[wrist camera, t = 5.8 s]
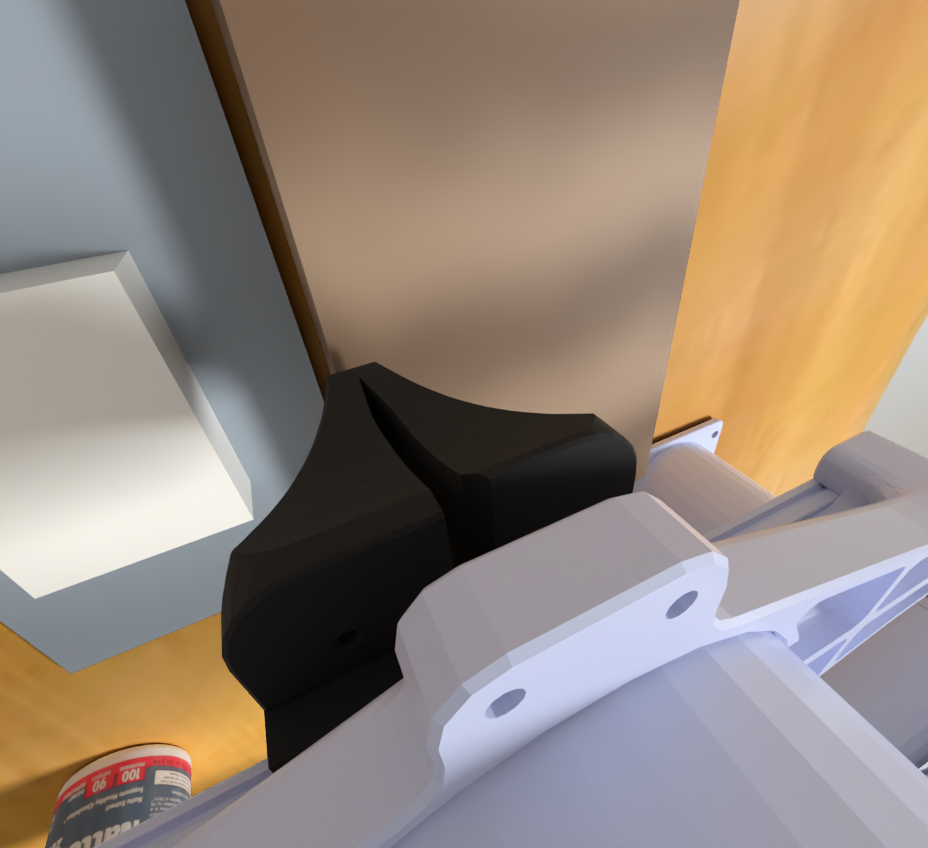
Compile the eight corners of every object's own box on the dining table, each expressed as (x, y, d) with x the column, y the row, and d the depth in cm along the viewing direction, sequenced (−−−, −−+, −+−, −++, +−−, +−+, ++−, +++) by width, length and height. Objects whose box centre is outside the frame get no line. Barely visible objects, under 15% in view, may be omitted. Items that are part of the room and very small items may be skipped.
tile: (34, 598, 13) (54, 548, 14) (253, 519, 14) (250, 481, 16) (-266, 345, 8) (-188, 309, 9) (113, 270, 10) (128, 250, 11)
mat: (372, 542, 21) (374, 548, 20) (73, 664, 17) (71, 673, 17) (144, -117, 9) (141, -126, 8) (-966, -133, 5) (-1036, -148, 5)
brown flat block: (597, 436, 23) (645, 476, 21) (378, 523, 20) (402, 584, 17) (647, -57, 13) (759, -103, 10) (195, -44, 9) (185, -108, 7)
